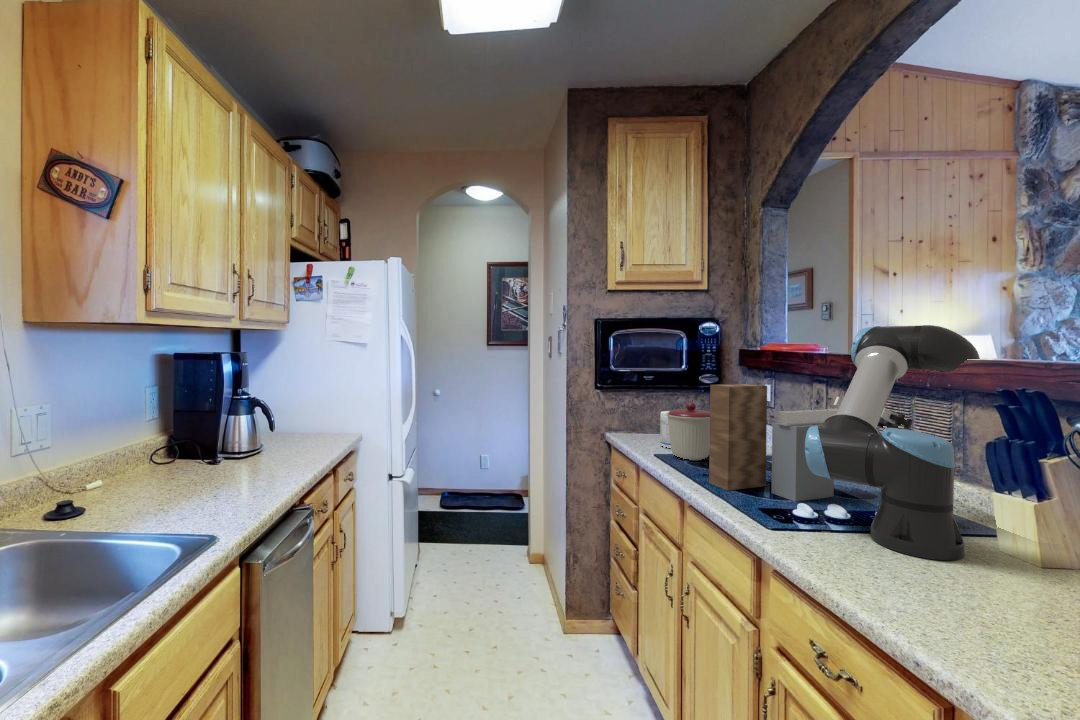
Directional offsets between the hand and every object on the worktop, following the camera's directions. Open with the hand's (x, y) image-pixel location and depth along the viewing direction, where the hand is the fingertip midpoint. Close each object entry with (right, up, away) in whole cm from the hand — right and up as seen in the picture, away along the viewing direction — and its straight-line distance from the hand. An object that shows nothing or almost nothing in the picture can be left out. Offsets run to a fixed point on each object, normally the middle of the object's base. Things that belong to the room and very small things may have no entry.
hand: (858, 406), depth 136 cm
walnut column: (-34, -24, +4) cm, 42 cm away
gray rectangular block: (-19, -24, -5) cm, 32 cm away
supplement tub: (-37, -24, +61) cm, 75 cm away
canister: (-36, -24, +40) cm, 59 cm away
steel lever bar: (-15, -4, -4) cm, 16 cm away
